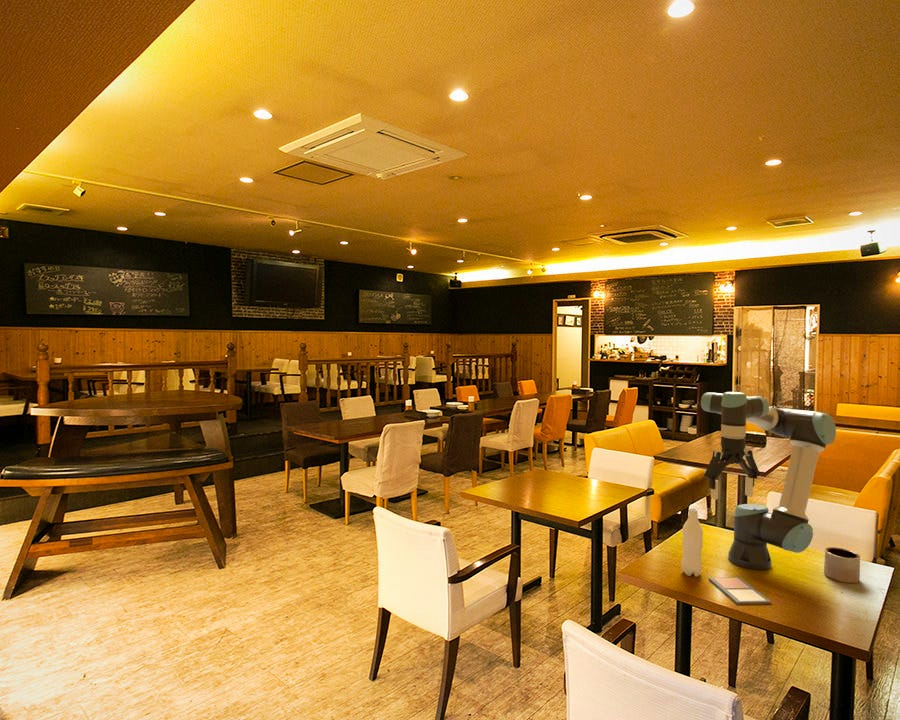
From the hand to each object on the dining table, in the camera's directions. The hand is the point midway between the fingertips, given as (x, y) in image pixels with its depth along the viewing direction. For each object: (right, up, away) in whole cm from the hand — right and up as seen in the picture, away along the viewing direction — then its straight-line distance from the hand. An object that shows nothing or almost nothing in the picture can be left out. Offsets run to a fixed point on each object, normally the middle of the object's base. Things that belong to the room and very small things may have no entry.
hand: (731, 497), depth 182 cm
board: (+5, -35, +4) cm, 35 cm away
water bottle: (-6, -34, +18) cm, 39 cm away
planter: (+50, -35, +16) cm, 63 cm away
